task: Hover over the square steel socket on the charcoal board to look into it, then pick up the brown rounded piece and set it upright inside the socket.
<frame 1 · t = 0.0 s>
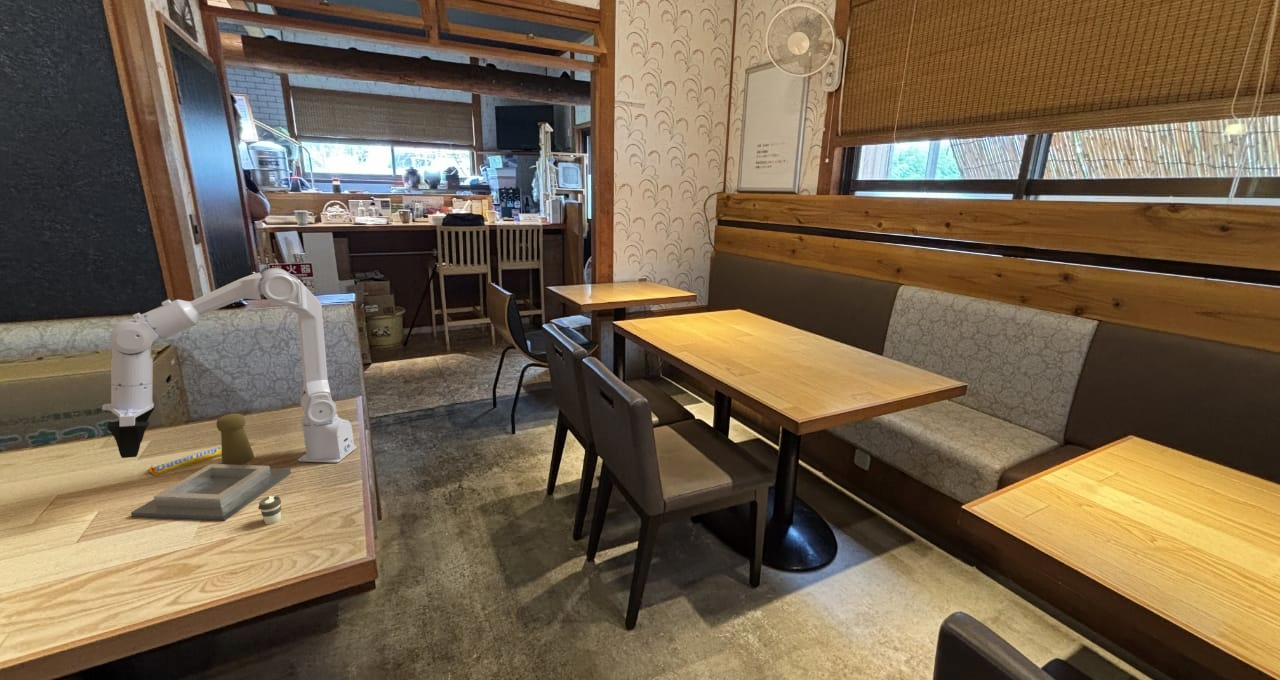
hand: (132, 449, 102), 11 cm above the table, tool pointing down, fingers open, 7 cm apart
coffee cup: (274, 523, 98), on the table
candy bar: (197, 463, 120), on the table
socket board: (217, 493, 107), on the table
brown rounded piece: (238, 460, 121), on the table
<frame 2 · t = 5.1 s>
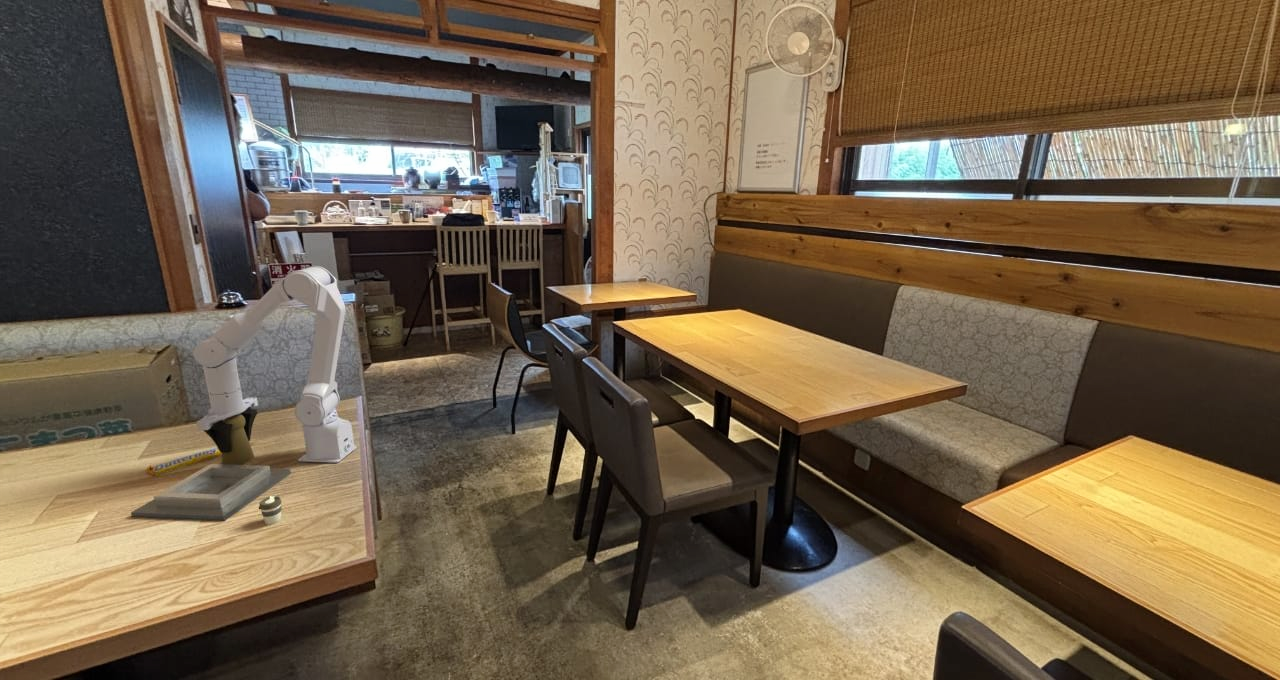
hand: (235, 446, 120), 3 cm above the table, tool pointing down, fingers closed on brown rounded piece, 5 cm apart
brown rounded piece: (238, 460, 121), on the table, touching gripper
everything else where it was.
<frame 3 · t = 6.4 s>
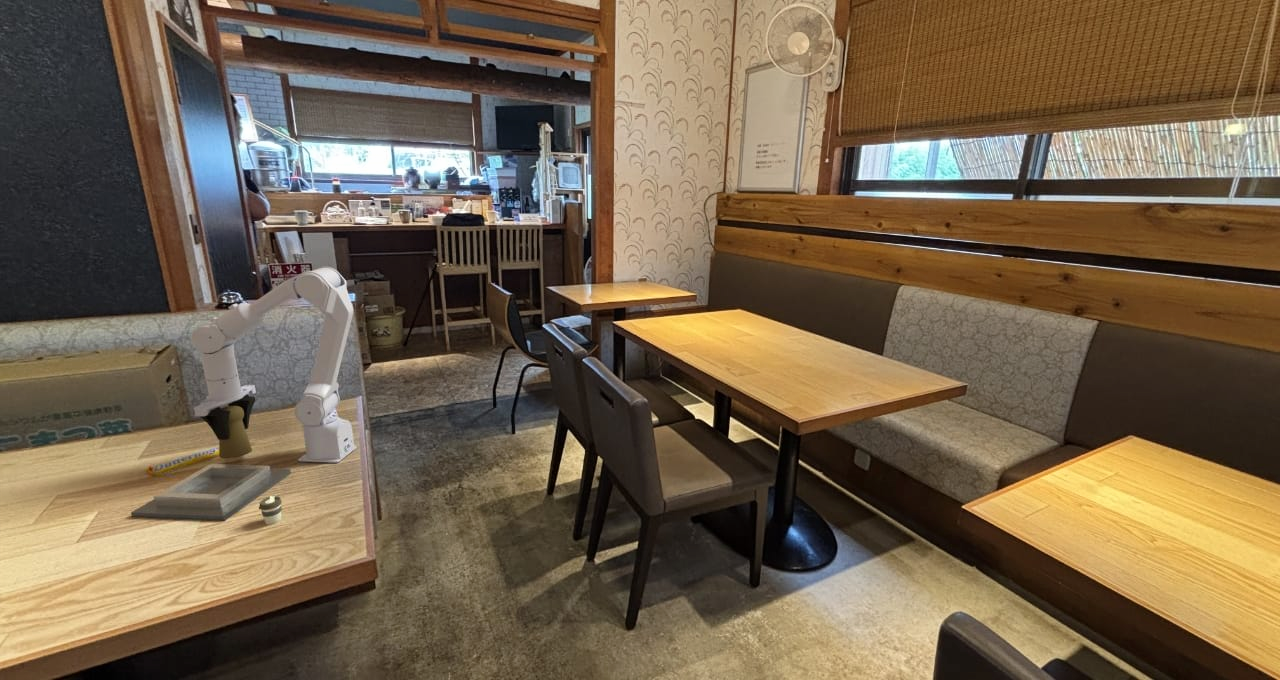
hand: (233, 433, 119), 7 cm above the table, tool pointing down, fingers closed on brown rounded piece, 5 cm apart
brown rounded piece: (235, 453, 120), point 2 cm above the table, touching gripper
everything else where it was.
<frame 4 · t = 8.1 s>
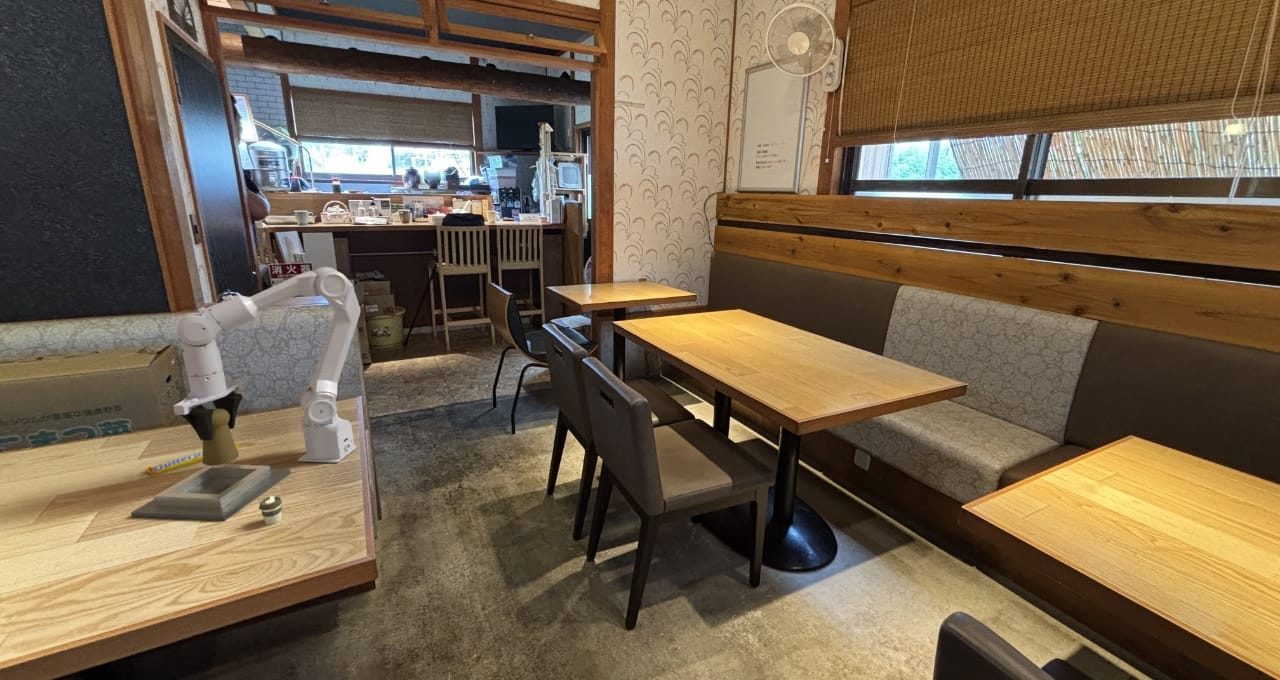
hand: (218, 433, 110), 10 cm above the table, tool pointing down, fingers closed on brown rounded piece, 5 cm apart
brown rounded piece: (221, 459, 112), point 4 cm above the table, touching gripper
everything else where it was.
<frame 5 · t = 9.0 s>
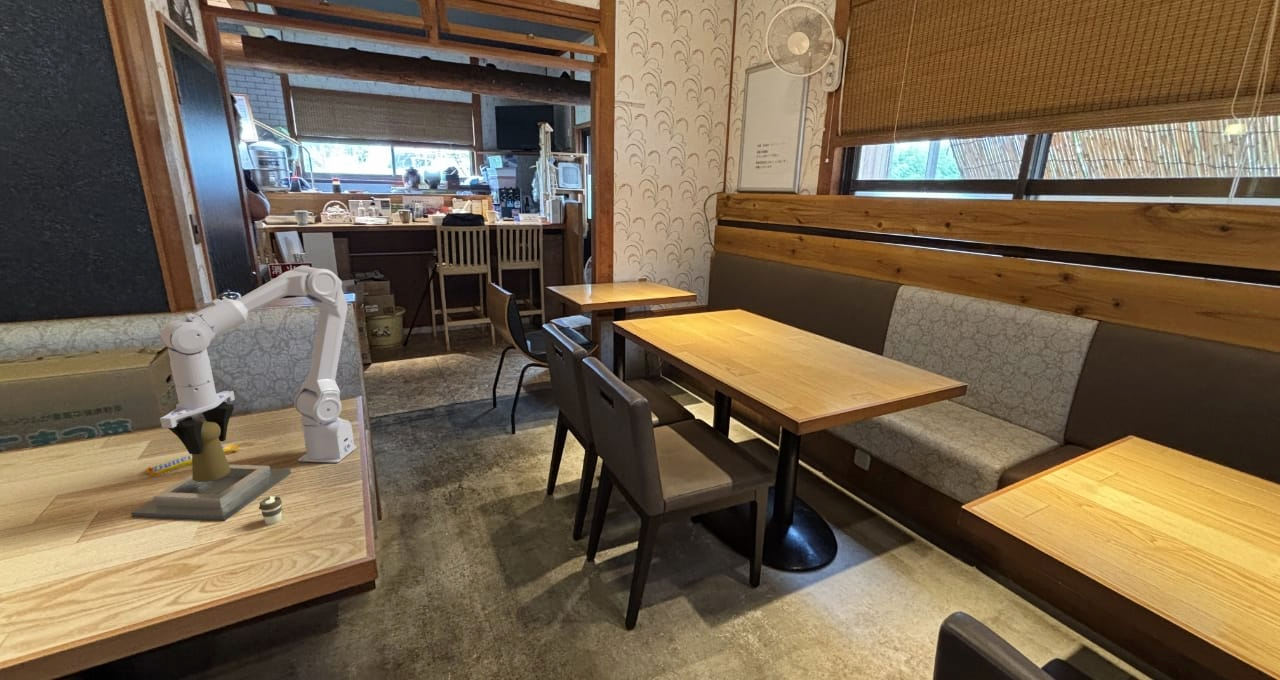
hand: (208, 446, 104), 10 cm above the table, tool pointing down, fingers closed on brown rounded piece, 5 cm apart
brown rounded piece: (211, 474, 106), point 4 cm above the table, touching gripper
everything else where it was.
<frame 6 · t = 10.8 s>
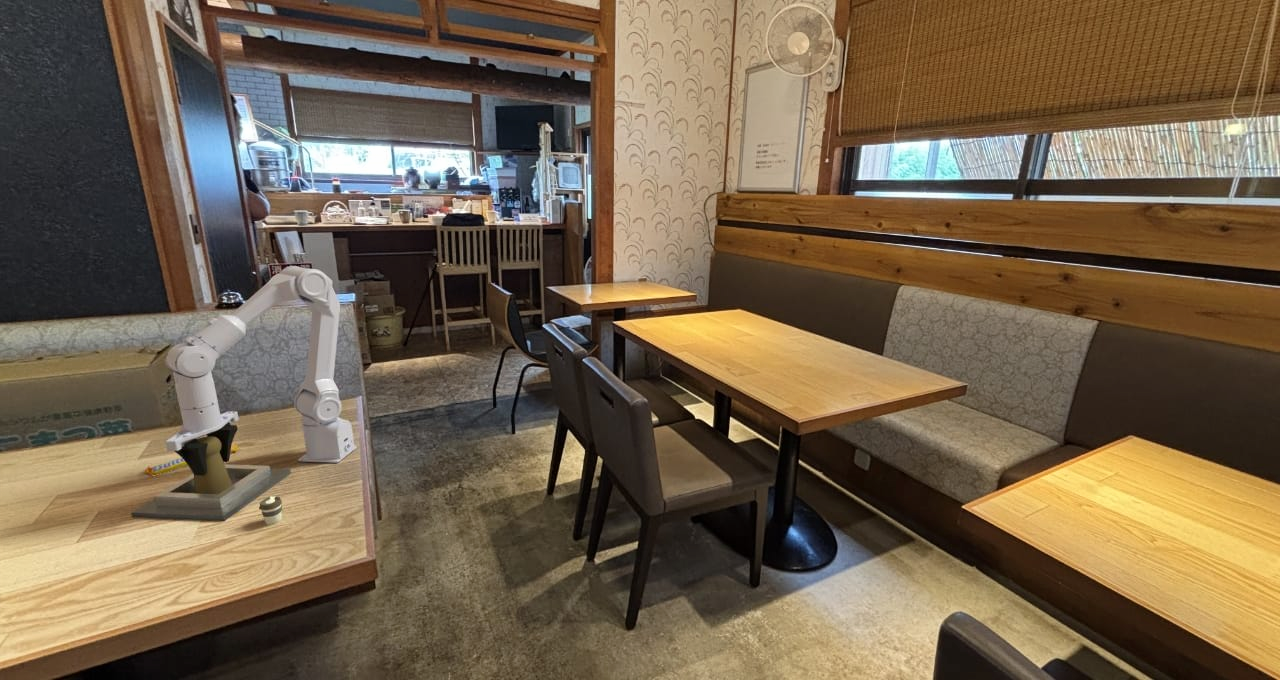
hand: (212, 467, 105), 6 cm above the table, tool pointing down, fingers closed on brown rounded piece, 5 cm apart
brown rounded piece: (213, 489, 107), point 1 cm above the table, touching gripper, socket board
everything else where it was.
when the fingers open (5 cm above the table, at t = 11.4 s): brown rounded piece stays where it is, resting on socket board.
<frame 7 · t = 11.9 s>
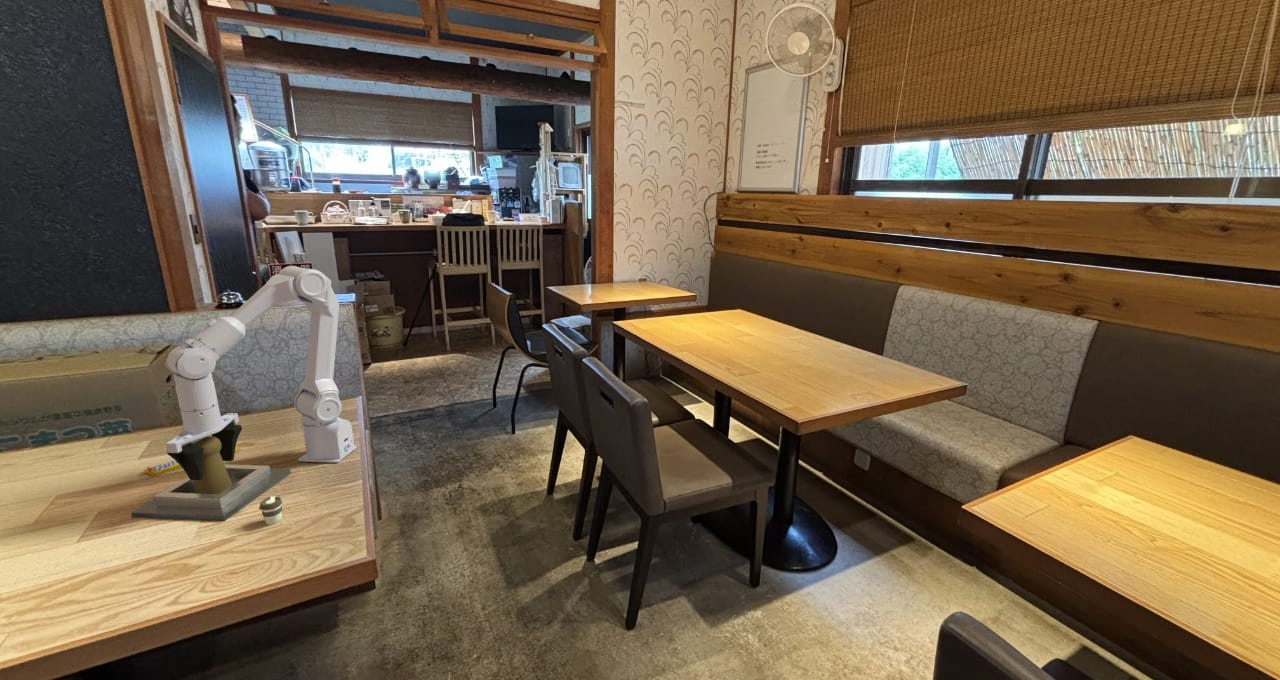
hand: (212, 469, 106), 5 cm above the table, tool pointing down, fingers open, 7 cm apart
brown rounded piece: (213, 489, 107), point 1 cm above the table, touching socket board
everything else where it was.
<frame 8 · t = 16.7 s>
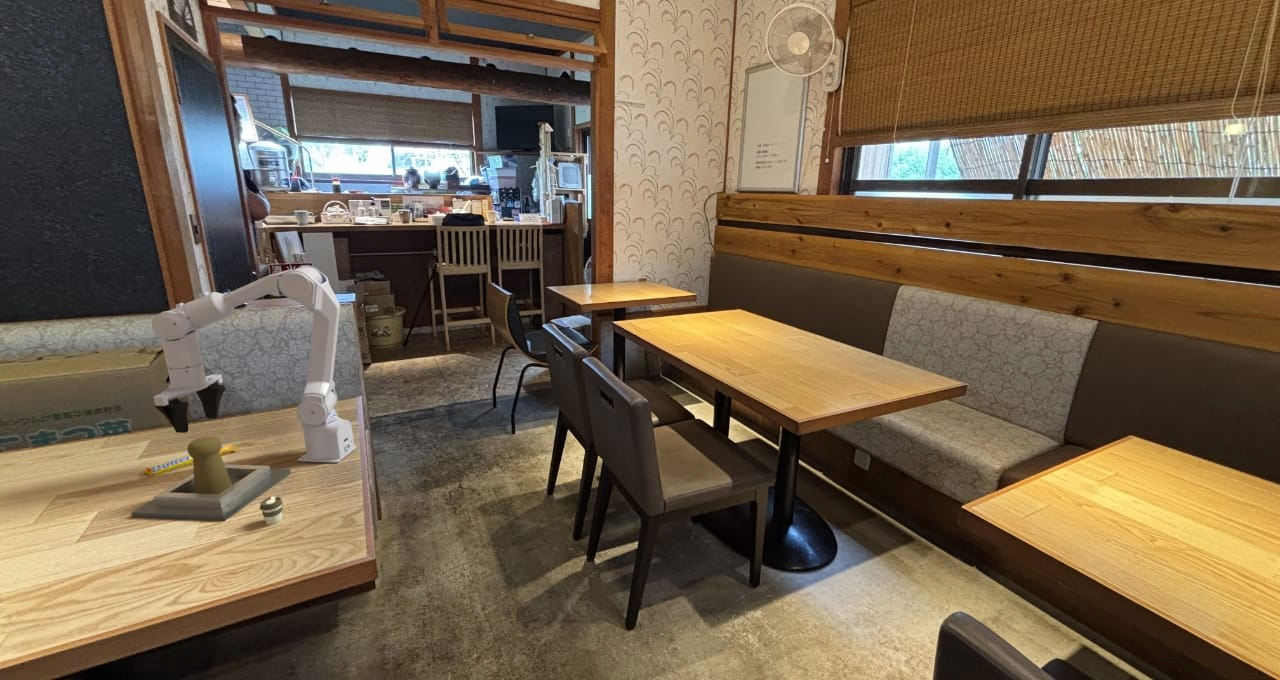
hand: (197, 424, 114), 10 cm above the table, tool pointing down, fingers open, 7 cm apart
nothing on the table moved.
at the end: brown rounded piece 0.7 cm off-centre on the socket board, point 0.8 cm above the socket board's base; brown rounded piece tilted 0°; the gripper is holding nothing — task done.
